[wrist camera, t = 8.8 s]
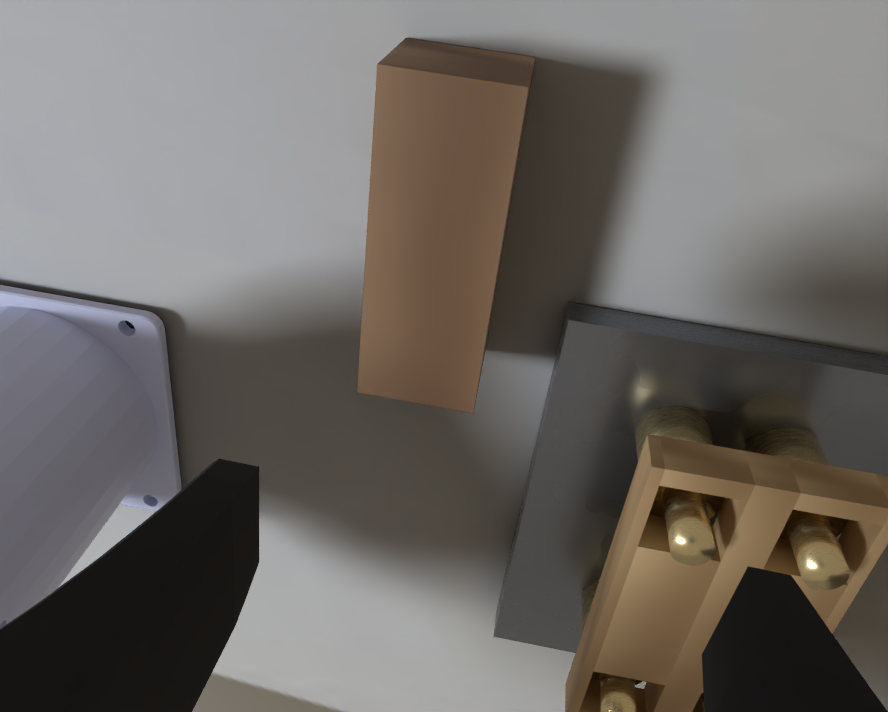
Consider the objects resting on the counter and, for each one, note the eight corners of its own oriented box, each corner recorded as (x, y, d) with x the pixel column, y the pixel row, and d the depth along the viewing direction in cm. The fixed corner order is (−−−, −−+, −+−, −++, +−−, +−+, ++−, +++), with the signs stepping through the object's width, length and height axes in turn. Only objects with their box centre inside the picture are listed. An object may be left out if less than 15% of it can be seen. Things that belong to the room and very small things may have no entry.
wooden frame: (565, 684, 23) (565, 720, 22) (647, 433, 18) (651, 466, 17) (747, 720, 23) (755, 758, 22) (888, 476, 17) (907, 512, 16)
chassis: (495, 613, 27) (480, 755, 23) (568, 301, 20) (567, 419, 16) (774, 668, 27) (813, 825, 22) (949, 367, 20) (1059, 508, 15)
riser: (382, 333, 22) (357, 392, 19) (406, 37, 17) (377, 64, 15) (485, 351, 21) (472, 413, 19) (535, 57, 17) (528, 87, 15)
